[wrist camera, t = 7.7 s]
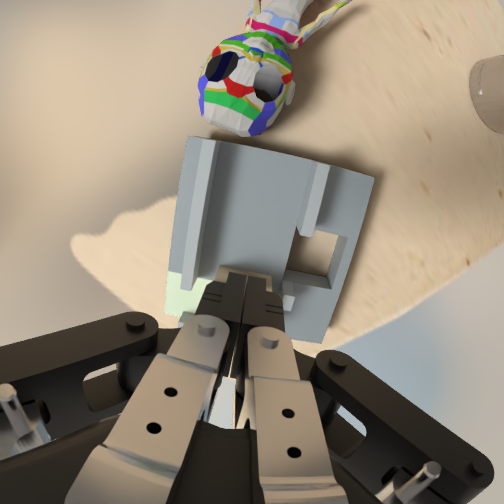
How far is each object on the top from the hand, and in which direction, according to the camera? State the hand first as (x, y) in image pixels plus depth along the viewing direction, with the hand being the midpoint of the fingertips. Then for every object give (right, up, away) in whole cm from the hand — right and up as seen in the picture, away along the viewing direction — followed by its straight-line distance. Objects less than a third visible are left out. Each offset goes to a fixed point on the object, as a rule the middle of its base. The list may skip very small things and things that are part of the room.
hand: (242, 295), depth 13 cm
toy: (+4, +26, +11) cm, 29 cm away
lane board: (+1, +3, +19) cm, 19 cm away
